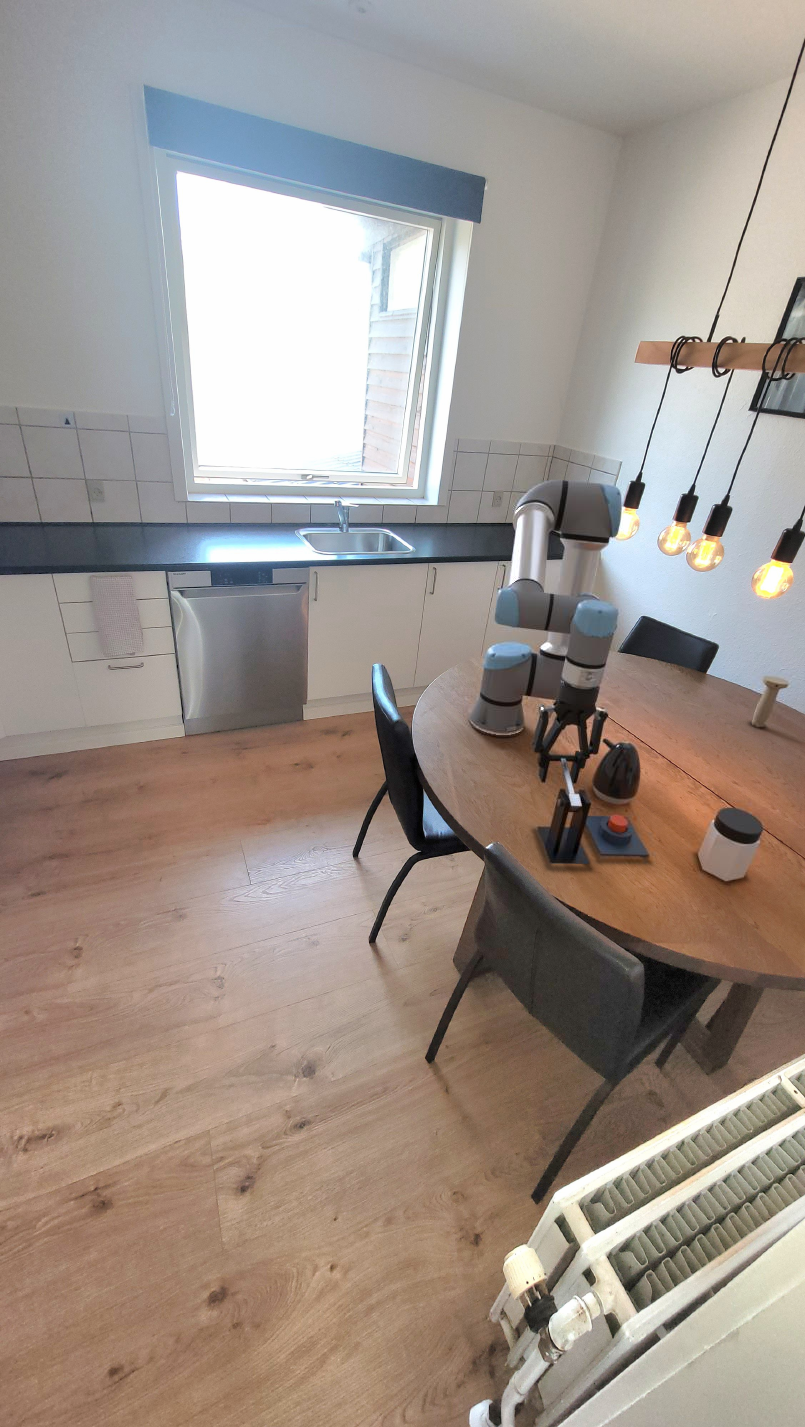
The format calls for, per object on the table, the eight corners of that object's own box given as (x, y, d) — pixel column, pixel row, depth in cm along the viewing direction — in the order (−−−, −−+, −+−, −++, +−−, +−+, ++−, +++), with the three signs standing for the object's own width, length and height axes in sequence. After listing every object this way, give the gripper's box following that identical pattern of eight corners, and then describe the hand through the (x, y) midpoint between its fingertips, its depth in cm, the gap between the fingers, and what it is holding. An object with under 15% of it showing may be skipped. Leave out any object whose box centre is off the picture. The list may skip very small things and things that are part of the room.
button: (605, 822, 124) (607, 814, 123) (621, 822, 124) (624, 814, 123) (611, 833, 121) (613, 825, 120) (628, 833, 121) (630, 826, 120)
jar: (749, 868, 120) (771, 822, 114) (737, 888, 114) (759, 841, 109) (704, 845, 125) (723, 800, 119) (690, 864, 120) (709, 818, 114)
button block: (580, 822, 129) (584, 807, 127) (624, 823, 130) (629, 808, 128) (599, 860, 119) (603, 845, 117) (646, 861, 119) (652, 846, 118)
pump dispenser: (597, 779, 144) (612, 726, 137) (639, 798, 139) (657, 743, 131) (580, 798, 137) (595, 742, 130) (623, 818, 131) (641, 761, 124)
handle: (770, 731, 172) (790, 685, 165) (746, 726, 174) (765, 681, 167) (767, 724, 176) (786, 679, 169) (744, 719, 178) (762, 674, 171)
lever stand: (535, 831, 125) (547, 778, 119) (572, 832, 126) (586, 779, 119) (549, 868, 116) (563, 813, 109) (588, 869, 116) (605, 814, 110)
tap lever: (545, 758, 123) (548, 751, 122) (573, 759, 124) (577, 752, 122) (558, 812, 115) (561, 805, 113) (587, 812, 115) (591, 806, 113)
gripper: (537, 688, 110) (517, 788, 121) (635, 692, 111) (606, 791, 122) (527, 671, 116) (509, 768, 127) (621, 675, 118) (594, 770, 129)
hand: (557, 779), depth 125 cm, fingers closed on tap lever, 6 cm apart
